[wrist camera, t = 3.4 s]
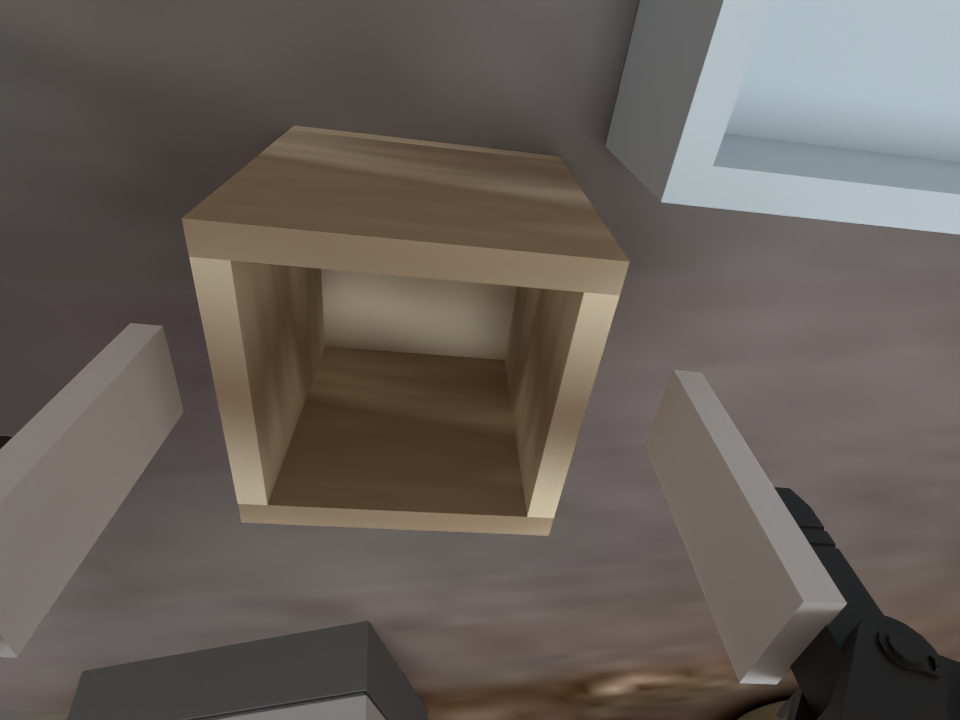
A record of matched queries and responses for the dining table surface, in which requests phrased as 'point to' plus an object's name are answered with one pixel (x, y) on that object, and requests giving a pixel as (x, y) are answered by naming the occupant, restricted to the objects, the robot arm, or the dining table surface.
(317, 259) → the birch crate
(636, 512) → the dining table surface
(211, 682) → the alarm clock
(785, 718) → the planter bowl
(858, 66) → the light blue crate
